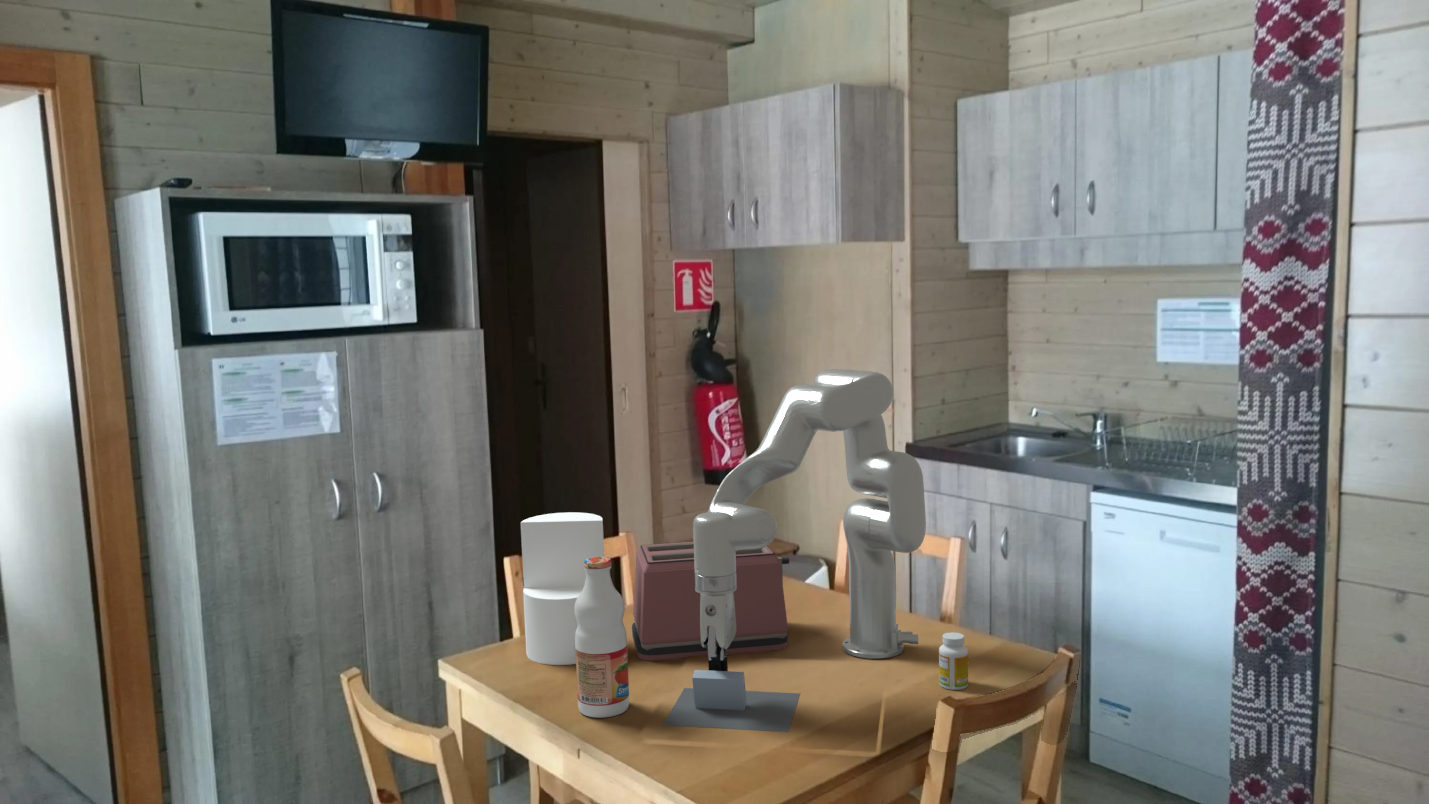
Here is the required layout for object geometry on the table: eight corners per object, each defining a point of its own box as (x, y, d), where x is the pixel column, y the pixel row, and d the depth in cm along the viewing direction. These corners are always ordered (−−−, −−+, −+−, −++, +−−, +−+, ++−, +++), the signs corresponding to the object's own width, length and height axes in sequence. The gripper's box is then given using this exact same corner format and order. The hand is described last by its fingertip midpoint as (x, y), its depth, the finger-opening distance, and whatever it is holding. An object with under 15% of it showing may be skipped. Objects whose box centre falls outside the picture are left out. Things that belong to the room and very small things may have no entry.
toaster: (800, 649, 226) (798, 554, 224) (639, 663, 221) (635, 566, 218) (780, 620, 245) (778, 533, 242) (631, 633, 240) (627, 543, 237)
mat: (800, 697, 200) (800, 693, 200) (788, 736, 184) (788, 731, 184) (684, 691, 205) (684, 687, 204) (662, 729, 188) (662, 724, 188)
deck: (746, 701, 195) (744, 671, 193) (744, 710, 193) (741, 679, 191) (698, 699, 197) (695, 669, 195) (695, 707, 195) (692, 677, 192)
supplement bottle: (969, 681, 205) (969, 632, 204) (966, 691, 200) (966, 641, 199) (941, 678, 207) (940, 629, 206) (937, 689, 202) (937, 639, 201)
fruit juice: (575, 701, 201) (568, 555, 198) (625, 695, 203) (619, 551, 200) (580, 721, 192) (573, 568, 189) (633, 715, 194) (627, 563, 191)
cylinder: (535, 637, 238) (528, 513, 235) (613, 635, 238) (607, 511, 234) (518, 665, 221) (511, 532, 218) (602, 664, 221) (596, 530, 217)
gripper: (728, 594, 186) (731, 696, 188) (743, 570, 201) (745, 665, 203) (685, 592, 188) (689, 694, 190) (704, 569, 202) (706, 663, 204)
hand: (718, 679), depth 196 cm, fingers closed
